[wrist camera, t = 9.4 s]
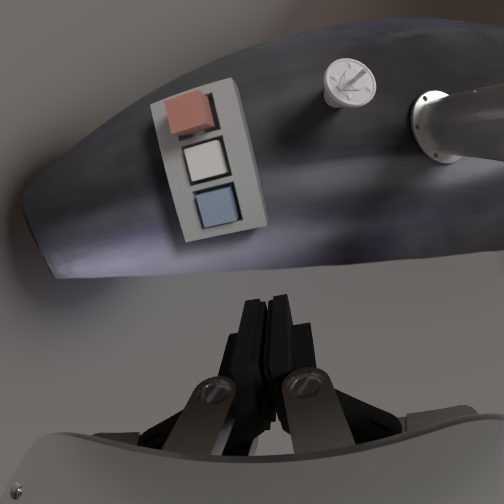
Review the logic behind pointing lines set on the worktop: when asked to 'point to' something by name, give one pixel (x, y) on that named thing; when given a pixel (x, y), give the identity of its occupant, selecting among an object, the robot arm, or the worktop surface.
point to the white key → (207, 160)
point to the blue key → (218, 205)
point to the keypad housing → (241, 175)
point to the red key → (189, 113)
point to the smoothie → (348, 84)
